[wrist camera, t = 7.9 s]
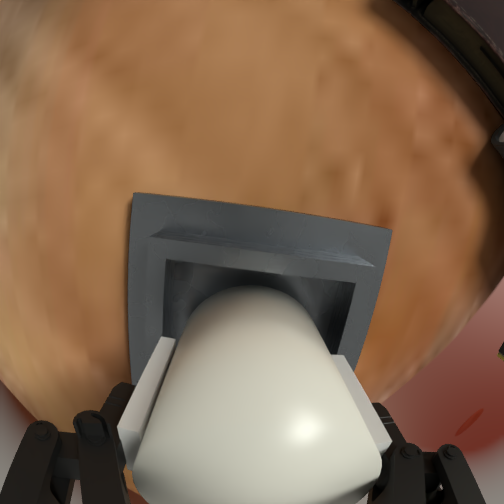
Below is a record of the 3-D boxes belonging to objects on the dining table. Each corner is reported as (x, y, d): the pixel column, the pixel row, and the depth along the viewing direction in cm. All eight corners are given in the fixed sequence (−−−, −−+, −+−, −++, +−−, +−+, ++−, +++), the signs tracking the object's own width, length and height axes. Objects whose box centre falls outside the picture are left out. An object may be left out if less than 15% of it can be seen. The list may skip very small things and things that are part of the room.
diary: (380, -6, 14) (404, -37, 9) (449, -59, 11) (465, -75, 6) (518, 148, 17) (555, 146, 12) (542, 40, 13) (563, 33, 8)
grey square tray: (139, 192, 17) (116, 193, 14) (385, 227, 18) (412, 236, 14) (137, 397, 20) (125, 425, 17) (330, 416, 21) (340, 445, 18)
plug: (186, 276, 15) (114, 397, 6) (331, 293, 16) (423, 411, 6) (180, 391, 17) (147, 522, 7) (301, 403, 17) (334, 529, 8)
